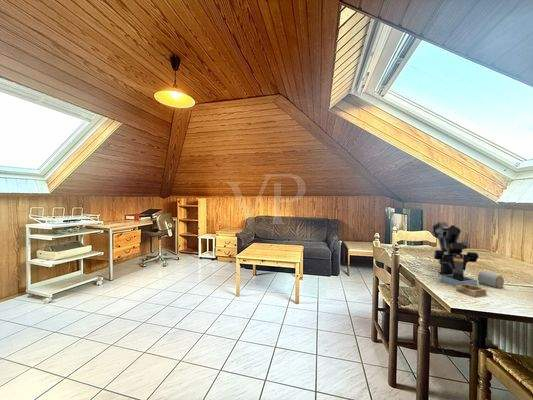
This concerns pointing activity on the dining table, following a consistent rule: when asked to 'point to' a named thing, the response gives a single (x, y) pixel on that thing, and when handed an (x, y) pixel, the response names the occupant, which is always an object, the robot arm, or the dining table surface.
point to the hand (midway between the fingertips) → (459, 269)
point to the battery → (458, 268)
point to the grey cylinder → (490, 279)
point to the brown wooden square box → (471, 290)
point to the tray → (454, 282)
